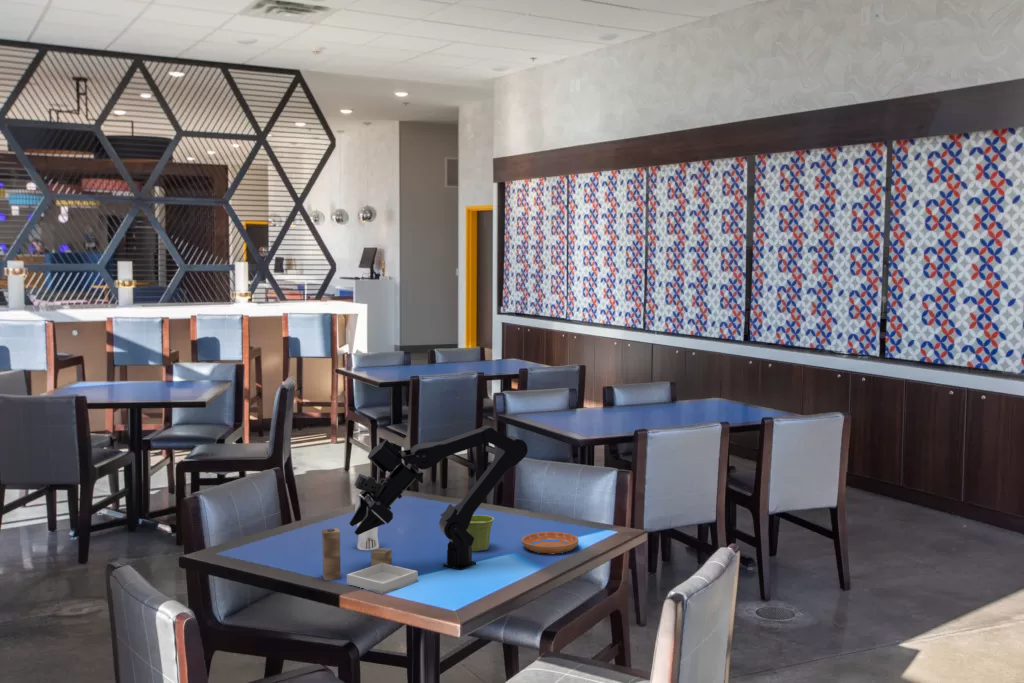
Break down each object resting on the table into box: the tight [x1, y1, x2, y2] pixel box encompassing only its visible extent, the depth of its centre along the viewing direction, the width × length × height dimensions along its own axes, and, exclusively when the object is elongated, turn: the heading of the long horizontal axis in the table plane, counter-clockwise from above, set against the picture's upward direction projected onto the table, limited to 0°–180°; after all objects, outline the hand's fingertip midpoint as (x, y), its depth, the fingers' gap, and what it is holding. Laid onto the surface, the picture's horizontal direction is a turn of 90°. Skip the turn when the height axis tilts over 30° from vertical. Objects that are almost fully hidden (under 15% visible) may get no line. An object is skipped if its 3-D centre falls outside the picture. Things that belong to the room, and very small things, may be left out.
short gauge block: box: [370, 547, 393, 567], centre depth 254 cm, size 4×4×4 cm
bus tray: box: [346, 563, 419, 595], centre depth 238 cm, size 12×12×3 cm
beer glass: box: [354, 493, 380, 551], centre depth 270 cm, size 7×7×15 cm
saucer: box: [521, 531, 580, 554], centre depth 270 cm, size 16×16×3 cm
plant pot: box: [467, 514, 495, 552], centre depth 269 cm, size 9×9×9 cm
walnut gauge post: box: [321, 527, 342, 580], centre depth 243 cm, size 4×4×12 cm
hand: (353, 529), depth 244 cm, fingers open, 9 cm apart
